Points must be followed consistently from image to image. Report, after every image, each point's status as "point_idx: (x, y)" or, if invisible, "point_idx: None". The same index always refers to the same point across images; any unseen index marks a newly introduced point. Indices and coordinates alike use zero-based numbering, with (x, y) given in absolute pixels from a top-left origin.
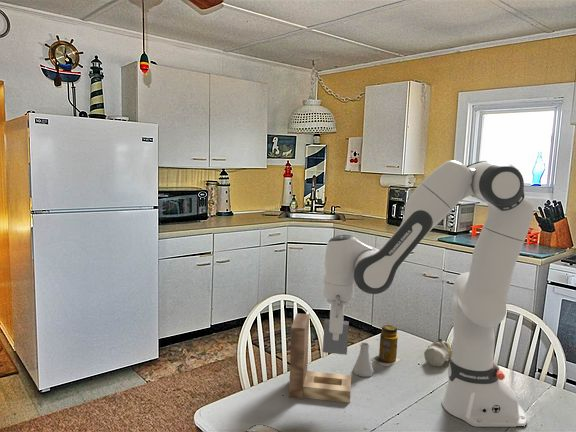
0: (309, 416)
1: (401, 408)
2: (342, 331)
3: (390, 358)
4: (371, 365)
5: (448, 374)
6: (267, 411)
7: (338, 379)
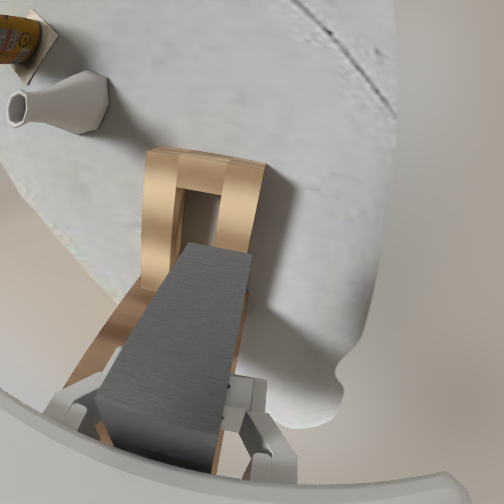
0: (330, 284)
1: (297, 13)
2: (454, 483)
3: (33, 30)
4: (73, 77)
5: None
6: (299, 359)
7: (175, 197)
